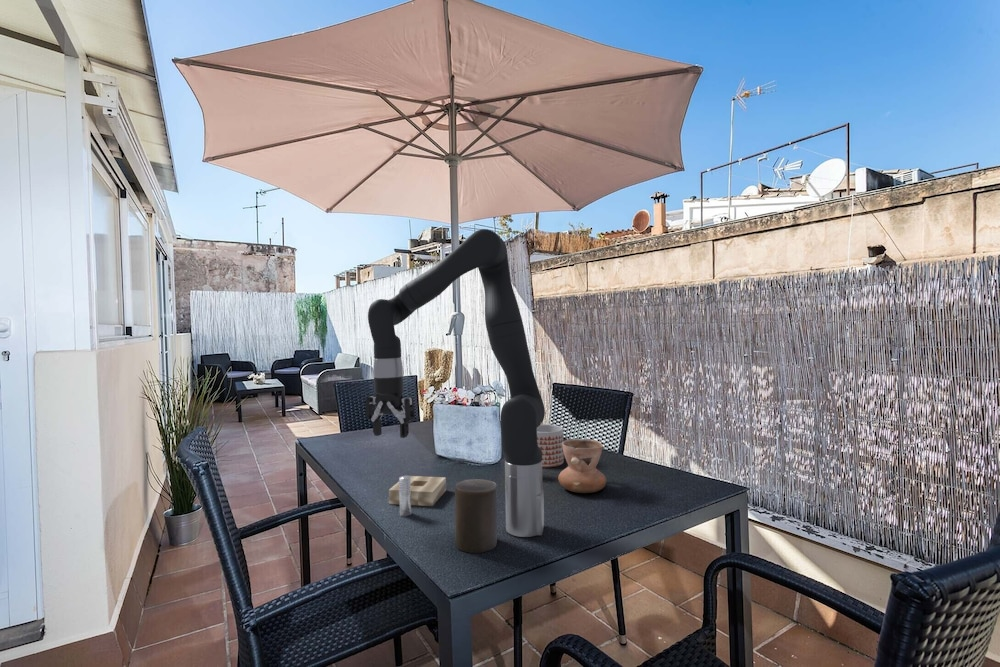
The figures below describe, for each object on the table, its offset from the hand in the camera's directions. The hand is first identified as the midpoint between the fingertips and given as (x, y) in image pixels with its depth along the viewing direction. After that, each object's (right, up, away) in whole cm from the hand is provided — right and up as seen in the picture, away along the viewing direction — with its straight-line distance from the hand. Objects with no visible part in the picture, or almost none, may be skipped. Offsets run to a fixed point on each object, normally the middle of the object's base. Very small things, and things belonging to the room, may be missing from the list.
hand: (390, 436), depth 127 cm
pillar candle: (+24, -22, -15) cm, 36 cm away
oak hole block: (+5, -21, +15) cm, 27 cm away
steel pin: (+3, -22, +2) cm, 22 cm away
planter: (+45, -20, +49) cm, 70 cm away
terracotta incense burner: (+54, -21, +21) cm, 62 cm away
